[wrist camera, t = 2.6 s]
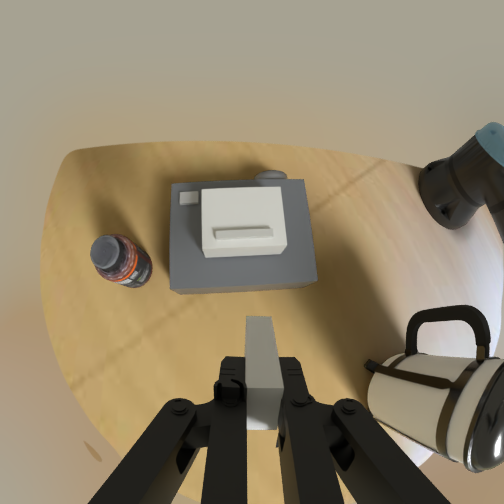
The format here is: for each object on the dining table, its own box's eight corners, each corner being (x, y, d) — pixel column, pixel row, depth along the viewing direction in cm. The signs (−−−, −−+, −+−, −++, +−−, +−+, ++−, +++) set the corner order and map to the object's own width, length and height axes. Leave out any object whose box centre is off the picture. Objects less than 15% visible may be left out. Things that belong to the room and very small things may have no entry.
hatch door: (275, 201, 35) (281, 183, 30) (280, 254, 33) (288, 243, 29) (204, 203, 34) (201, 186, 29) (205, 257, 32) (201, 247, 28)
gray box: (291, 187, 44) (302, 163, 36) (303, 287, 40) (319, 279, 33) (180, 191, 42) (171, 167, 35) (180, 294, 38) (168, 288, 31)
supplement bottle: (123, 247, 39) (91, 222, 28) (157, 253, 39) (133, 229, 28) (114, 284, 38) (78, 270, 27) (149, 292, 38) (120, 281, 27)
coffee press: (437, 372, 38) (571, 381, 9) (382, 439, 34) (505, 507, 5) (390, 310, 40) (552, 279, 11) (325, 384, 36) (475, 461, 8)
